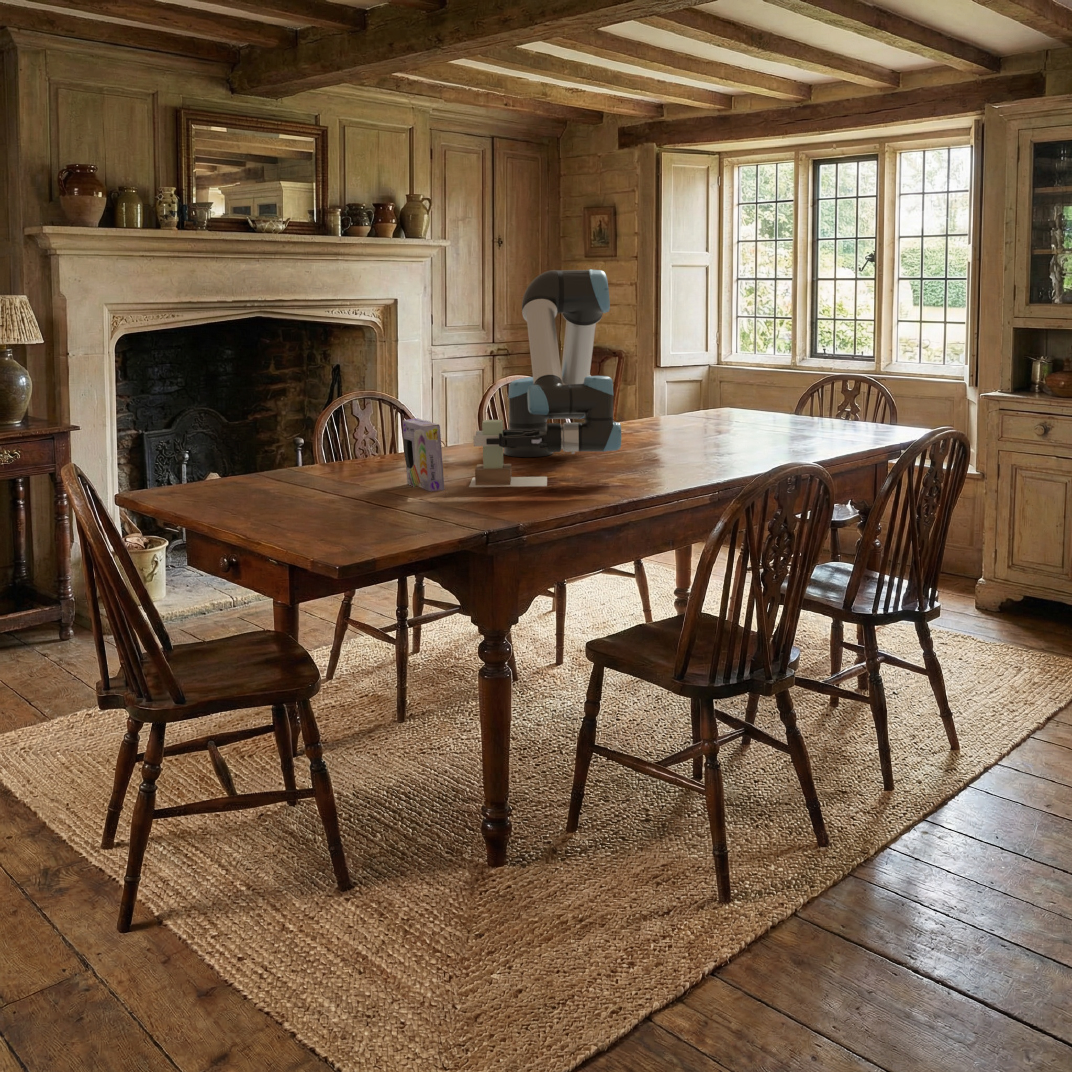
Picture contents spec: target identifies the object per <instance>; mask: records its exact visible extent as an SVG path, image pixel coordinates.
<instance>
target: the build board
mask: <svg viewBox="0 0 1072 1072" xmlns="http://www.w3.org/2000/svg"><path fill="white" fill-rule="evenodd" d="M468 487H469V488H498V487H500V488H502V487H504V488H506V487H508V488H510V487H512V488H513V487H514V488H515V487H521V488H522V487H548V476H511V484H510V485H475V476H474V477H472V479H471V481H470V484H469V486H468Z"/></svg>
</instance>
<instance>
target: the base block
mask: <svg viewBox="0 0 1072 1072" xmlns="http://www.w3.org/2000/svg"><path fill="white" fill-rule="evenodd" d="M474 472H475V473H474V477H475V485H510V484H511V477H512V463H503V468H483V463H478V464H476V467H475V469H474Z"/></svg>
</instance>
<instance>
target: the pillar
mask: <svg viewBox="0 0 1072 1072" xmlns="http://www.w3.org/2000/svg"><path fill="white" fill-rule="evenodd" d="M503 421H504V420H503V419H483V421H482V424H481V425H482V430H481V431H483V436H484V435H499V433H501V434H502V436H503V430H504V429H503V428H504V427H503V424H504V423H503ZM482 461H483V463H482V464H483V468H503V464H504V448H503V447H501V446H482Z"/></svg>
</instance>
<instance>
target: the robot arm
mask: <svg viewBox="0 0 1072 1072" xmlns="http://www.w3.org/2000/svg"><path fill="white" fill-rule="evenodd" d="M608 281H609V280H608V276H607V274H606V272H605V271H604V270H601V269H592V268H590V269H565V270H564V269H561V270H559V269H558V270H557V269H553V270H552V269H551V270H547V271H544V272H542V273H541V274H539V275H537V276H536V277H535V278H534V279H533V280H532V281H531V282H530V283H529V285H528V286H527V288H526V289H525V291H524V294H523V297H522V301H521V312H522V313H521V314H522V318H523V320H524V321H525V322H526V326H527V335H528V343H529V353H530V362H531V372H532V373H531V374H532V376H528V377H523V378H518V379H515V380H513V381H510V383H509V385H508V396H507V398H508V423H509V424H508V429H507V428H505V429H503V436H502V434H501V433H499V435H484V436H483V431H482V430H475V435H473V436H472V437H473V447H483V446H501V447H503V455H505V456H509V457H515V458H516V457H517V458H533V457H534V458H535V457H536V458H537V457H546V456H551V455H552V454H554V453H560V452H561V451H562V450H563V452H565V453H566V452H567V453H569V452H571V455H575V454H576V452H586V453H587V452H600V453H601V452H602V453H605V452H615V451H619V450H620V449H621V448H622V424H621V422H619V421H618V422H617V421H615V420H614V419H615V418H614V395H615V394H614V382H613V381H614V380H613V378H611V377H610V376H608V375H591V367H592V360H593V359H592V358H593V351H594V343H595V336H596V335H595V334H596V327H597V323H599V322H600V321H601V320H602V319H603V314H606V313H609V312H610V310H611V301H610V299H611V298H610V290H609V282H608ZM558 314H562V317H563V319H564V320H565V329H564V341H563V350H562V351H563V352H562V360H560V350H559V344H558V336H557V335H558V333H557V326H556V317H557V315H558ZM568 419H569V420H572V419H573V420H581V419H584V422H563V424H561V423H560V422H549V423H548V420H568Z"/></svg>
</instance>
